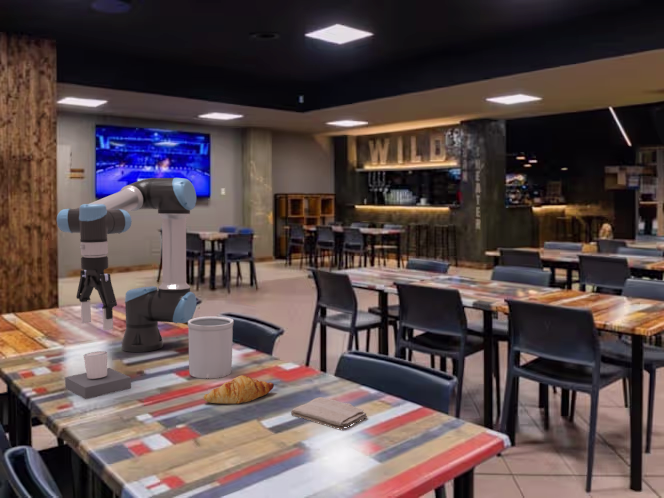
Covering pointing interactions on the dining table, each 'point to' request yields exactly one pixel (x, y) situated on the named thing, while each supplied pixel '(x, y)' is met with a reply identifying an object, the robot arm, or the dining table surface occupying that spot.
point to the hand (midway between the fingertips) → (96, 326)
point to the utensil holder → (210, 346)
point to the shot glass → (96, 364)
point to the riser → (97, 384)
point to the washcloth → (329, 412)
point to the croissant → (239, 391)
